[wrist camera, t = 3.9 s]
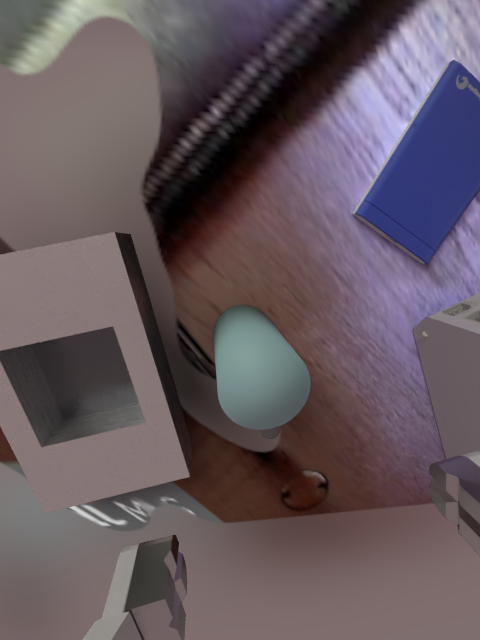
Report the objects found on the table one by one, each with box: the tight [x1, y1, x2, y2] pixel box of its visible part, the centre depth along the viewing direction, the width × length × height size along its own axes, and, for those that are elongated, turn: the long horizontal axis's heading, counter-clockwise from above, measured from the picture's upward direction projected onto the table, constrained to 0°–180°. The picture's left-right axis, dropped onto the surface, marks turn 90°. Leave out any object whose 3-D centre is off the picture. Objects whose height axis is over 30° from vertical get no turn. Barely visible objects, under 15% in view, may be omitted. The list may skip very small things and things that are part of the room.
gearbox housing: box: [0, 232, 192, 513], centre depth 22 cm, size 15×20×4 cm
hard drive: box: [352, 60, 480, 264], centre depth 23 cm, size 2×8×12 cm
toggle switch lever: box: [213, 305, 311, 439], centre depth 21 cm, size 5×7×10 cm
